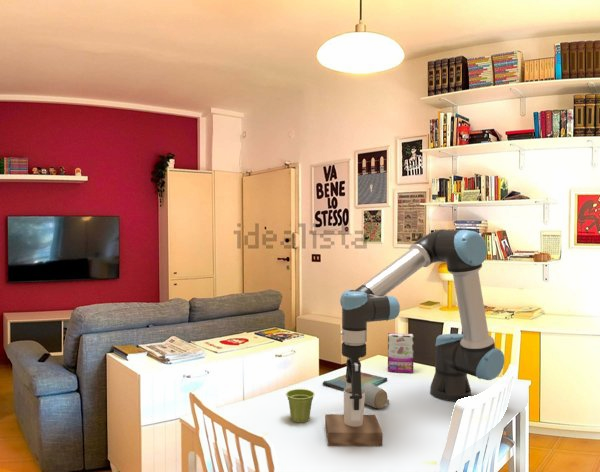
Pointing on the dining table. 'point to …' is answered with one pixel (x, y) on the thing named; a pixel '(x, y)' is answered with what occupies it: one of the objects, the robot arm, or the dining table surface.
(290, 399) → the plant pot
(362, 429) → the walnut riser block
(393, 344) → the candy bar box
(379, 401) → the ceramic mug
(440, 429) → the dining table surface
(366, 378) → the dish towel
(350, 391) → the beige hollow cylinder
